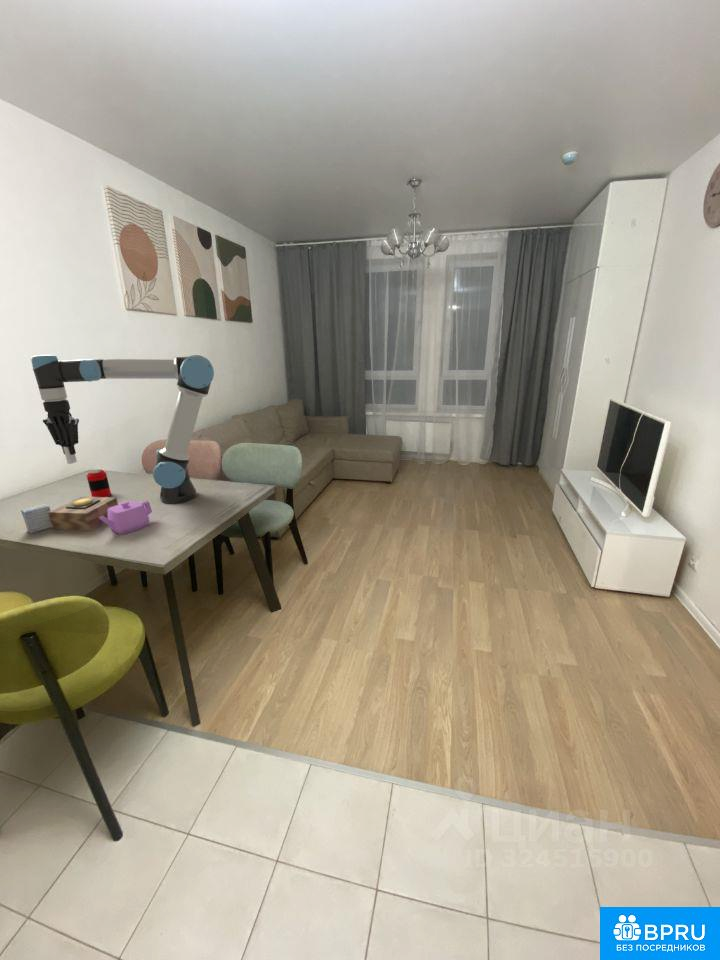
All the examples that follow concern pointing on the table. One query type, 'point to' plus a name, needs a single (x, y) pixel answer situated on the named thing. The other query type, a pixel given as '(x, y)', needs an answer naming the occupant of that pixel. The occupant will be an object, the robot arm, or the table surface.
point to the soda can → (98, 483)
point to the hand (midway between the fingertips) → (72, 462)
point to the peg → (82, 502)
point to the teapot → (128, 516)
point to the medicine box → (37, 518)
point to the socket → (81, 514)
